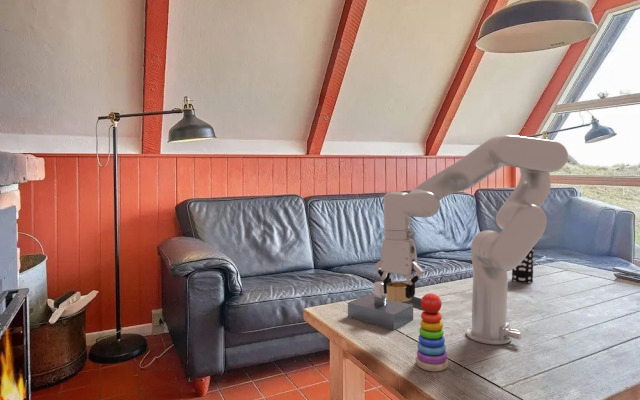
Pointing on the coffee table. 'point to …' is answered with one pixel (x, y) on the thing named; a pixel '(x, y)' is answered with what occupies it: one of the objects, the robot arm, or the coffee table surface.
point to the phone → (415, 302)
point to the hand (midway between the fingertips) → (399, 294)
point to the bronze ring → (397, 291)
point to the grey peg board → (380, 309)
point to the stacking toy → (431, 336)
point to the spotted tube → (524, 269)
